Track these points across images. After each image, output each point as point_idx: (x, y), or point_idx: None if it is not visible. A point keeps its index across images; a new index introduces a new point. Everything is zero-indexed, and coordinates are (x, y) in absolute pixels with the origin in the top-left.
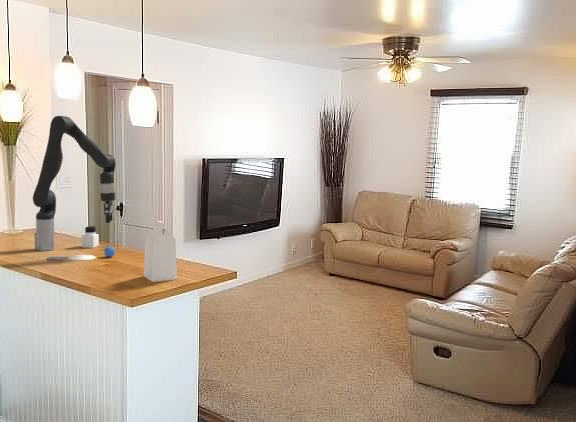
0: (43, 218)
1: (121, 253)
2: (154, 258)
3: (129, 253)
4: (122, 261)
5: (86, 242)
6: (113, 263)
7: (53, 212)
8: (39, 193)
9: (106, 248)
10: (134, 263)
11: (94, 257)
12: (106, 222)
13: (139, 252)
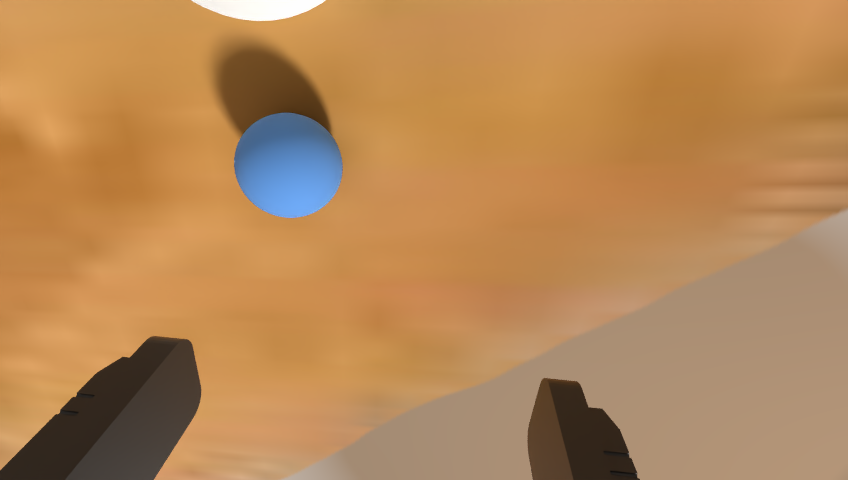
0: None
1: (461, 238)
2: None
3: (455, 290)
4: (151, 241)
5: None
6: (64, 183)
7: None
8: None
9: (248, 150)
10: (108, 306)
11: (251, 7)
12: (156, 343)
13: (486, 349)
